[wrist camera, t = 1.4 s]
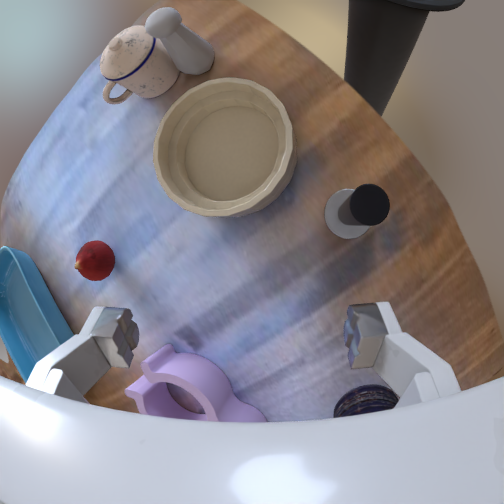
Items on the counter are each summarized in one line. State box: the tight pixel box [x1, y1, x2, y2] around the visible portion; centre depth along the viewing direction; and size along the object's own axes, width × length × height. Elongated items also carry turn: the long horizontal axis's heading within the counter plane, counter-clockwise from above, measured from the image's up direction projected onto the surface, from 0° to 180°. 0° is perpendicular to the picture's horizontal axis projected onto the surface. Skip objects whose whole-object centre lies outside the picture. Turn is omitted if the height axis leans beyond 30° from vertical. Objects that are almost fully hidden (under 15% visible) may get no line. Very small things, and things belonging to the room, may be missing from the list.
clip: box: [125, 344, 267, 422], centre depth 38 cm, size 20×12×7 cm, turn 55°
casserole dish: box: [0, 246, 74, 383], centre depth 46 cm, size 37×22×7 cm, turn 38°
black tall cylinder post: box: [324, 184, 390, 239], centre depth 26 cm, size 6×6×18 cm
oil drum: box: [334, 385, 398, 418], centre depth 27 cm, size 10×10×18 cm
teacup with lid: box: [100, 26, 180, 104], centre depth 33 cm, size 12×9×12 cm
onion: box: [75, 241, 115, 281], centre depth 39 cm, size 6×6×8 cm
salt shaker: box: [145, 7, 214, 75], centre depth 30 cm, size 6×6×13 cm
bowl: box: [153, 77, 297, 218], centre depth 34 cm, size 16×16×6 cm
